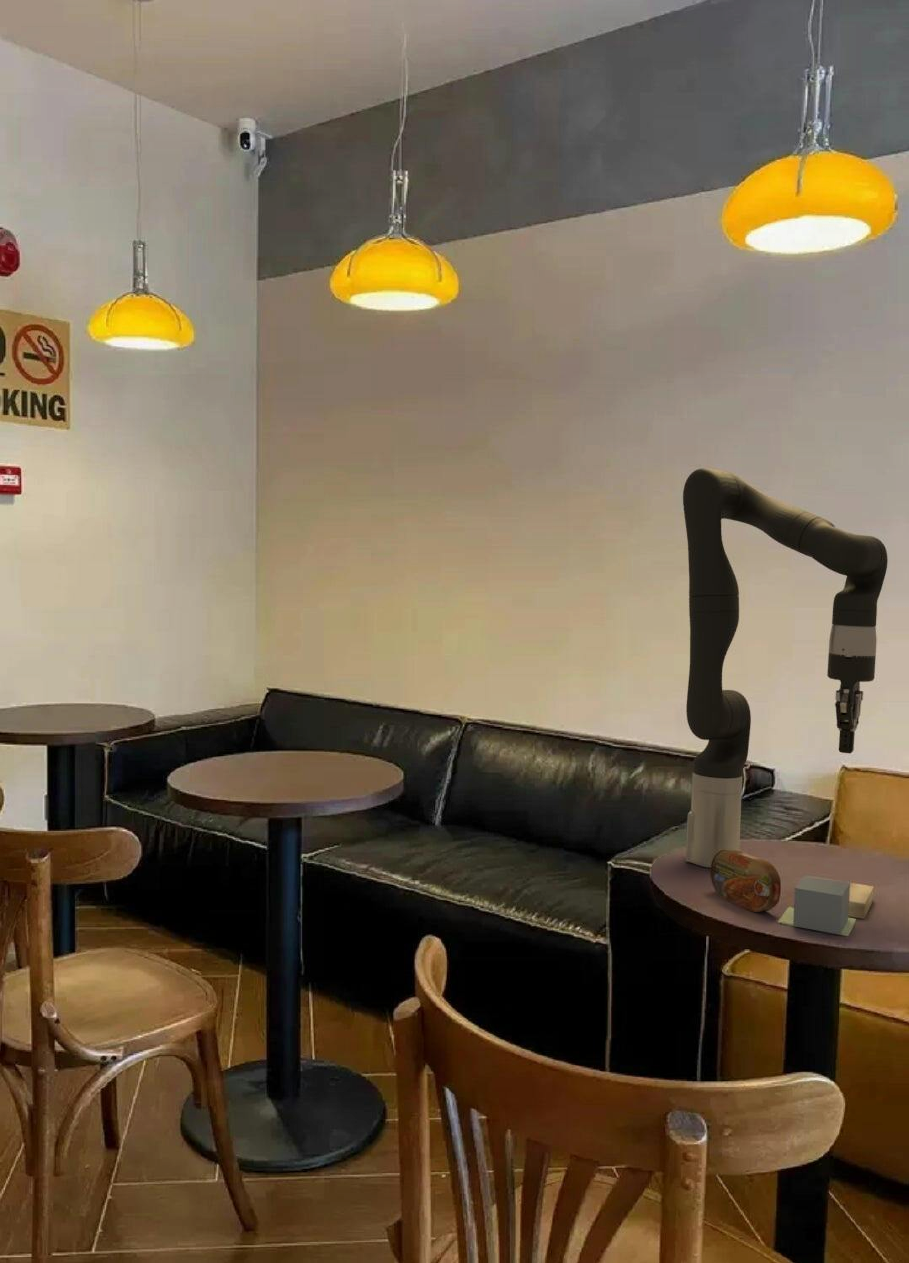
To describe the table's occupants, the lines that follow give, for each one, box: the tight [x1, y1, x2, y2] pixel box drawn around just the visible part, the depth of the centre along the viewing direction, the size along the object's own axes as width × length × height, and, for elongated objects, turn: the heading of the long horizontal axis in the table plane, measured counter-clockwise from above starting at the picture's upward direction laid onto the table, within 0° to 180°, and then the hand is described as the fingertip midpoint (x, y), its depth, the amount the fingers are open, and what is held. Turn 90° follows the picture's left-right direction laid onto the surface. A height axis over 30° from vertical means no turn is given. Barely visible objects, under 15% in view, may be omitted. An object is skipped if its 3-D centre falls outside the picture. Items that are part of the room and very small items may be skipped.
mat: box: [777, 906, 857, 937], centre depth 161 cm, size 10×8×1 cm
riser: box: [794, 876, 875, 920], centre depth 170 cm, size 11×11×2 cm
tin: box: [709, 850, 782, 913], centre depth 169 cm, size 15×3×8 cm, turn 24°
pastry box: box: [792, 875, 851, 935], centre depth 159 cm, size 7×8×6 cm
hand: (845, 752), depth 173 cm, fingers closed
